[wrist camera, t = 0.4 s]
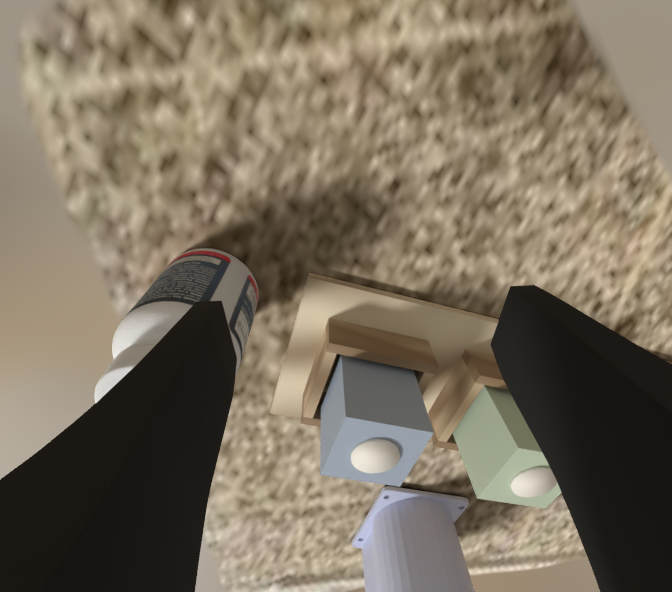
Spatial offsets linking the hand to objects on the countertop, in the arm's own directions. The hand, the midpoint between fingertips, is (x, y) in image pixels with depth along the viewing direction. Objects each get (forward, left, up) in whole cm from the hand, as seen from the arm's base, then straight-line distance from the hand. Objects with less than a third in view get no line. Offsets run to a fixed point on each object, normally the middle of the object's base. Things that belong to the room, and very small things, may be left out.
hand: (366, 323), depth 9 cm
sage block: (-10, -13, -8) cm, 18 cm away
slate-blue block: (-10, -4, -8) cm, 13 cm away
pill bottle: (-7, +6, -11) cm, 14 cm away
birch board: (-10, -13, -11) cm, 19 cm away
